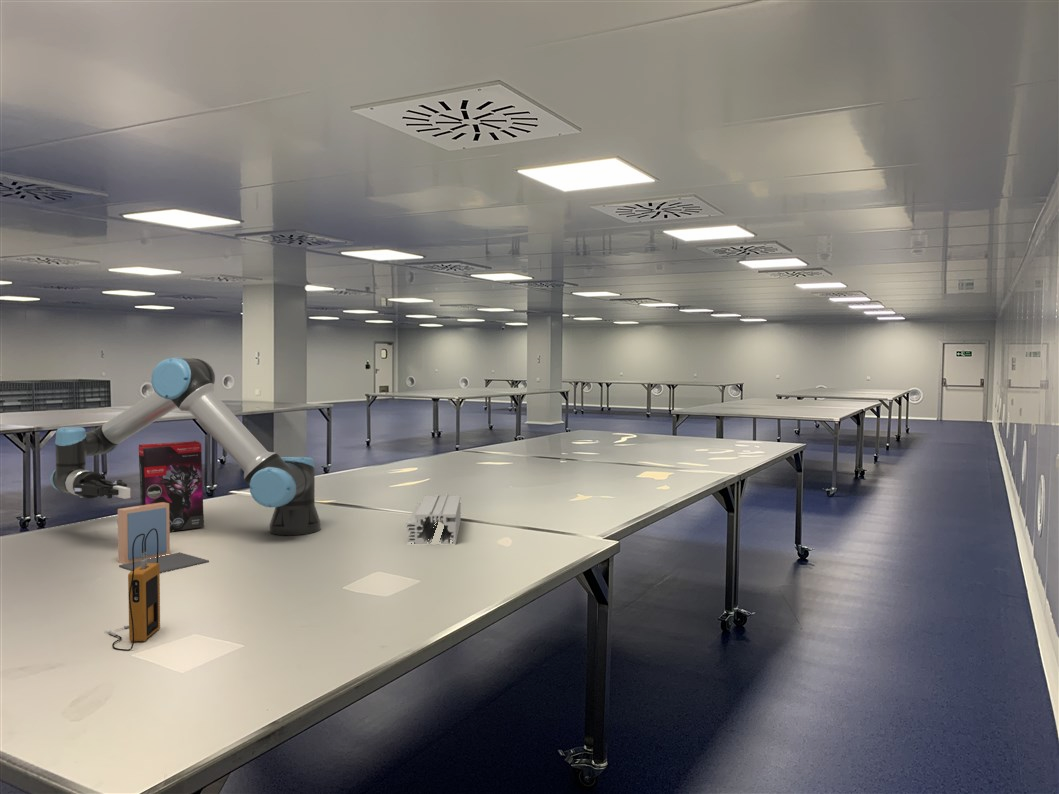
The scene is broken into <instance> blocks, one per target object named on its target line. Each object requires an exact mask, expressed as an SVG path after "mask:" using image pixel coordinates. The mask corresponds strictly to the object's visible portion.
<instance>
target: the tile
mask: <svg viewBox="0 0 1059 794" xmlns="http://www.w3.org/2000/svg"><path fill="white" fill-rule="evenodd" d="M153 528H155V529H156V530H157V532H158V545H159V547H158V557H159V556H162V555H166V554H171V547H170V545H171V544H170V543H171V542H170V539H171V538H170V536H171V535H170V534H171V533H170V531H169V503H165V502H161V503H154V504H148V505H141V504H140V505H136V506H129V507H123V508H117V537H118V538H117V550H118V551H117V552H118V555H117V556H118V557H117V559H118V563H119V564H121V565H123V564H127V563H132V562H133V559H132V547H133V542H134V540H135V538H136V537H137V536H138V535H140V534H145V538H146V536H147V534H148V532H149V531H150V530H151V529H153ZM143 536H144V535H141V536H139V537H138V538H137V539H136V540H135V543H134V562H137V561H141V560H142V540H143ZM145 538H144V541H145ZM143 553H144V542H143ZM155 557H157V535H156V531H155V530H152V531H151V532H150V533H149V535H148V537H147V539H146V558H147V559H150V558H155Z"/></svg>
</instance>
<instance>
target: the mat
mask: <svg viewBox="0 0 1059 794" xmlns="http://www.w3.org/2000/svg"><path fill="white" fill-rule="evenodd" d="M206 562H207V563H210V560H209V559H205V558H202V557H197V556H194V555H191V554H187V553H183V552H176V553H170V555H165V556H160V557H158V563H159V567H160V574H163V573H162V572H164V573H167V572H166V571H168V572H171V570H172V571H175V569H177V570H180V569H179V568H181V569H184V568H183V567H185V568H189V567H193V565H194V566H197V564H198V565H202V564H206ZM147 563H157V557H156V558H151V559H147ZM140 566H141V561H137V562H134V570H135V569H136V568H138V567H140ZM188 566H189V567H188ZM118 567H119V568H122V569H125V570H127V571H130V572H131V571H133V562H132V563H127V564H119V565H118Z"/></svg>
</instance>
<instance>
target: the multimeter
mask: <svg viewBox="0 0 1059 794" xmlns="http://www.w3.org/2000/svg"><path fill="white" fill-rule="evenodd" d="M152 530H155V531H156V535H157V563H147V558H146V539H147V537H148V535H149V533H150V532H151V531H152ZM141 535H144V536H143V540H142V560H141V566H140V567H138V568H136V569H135V570H134V543H135V540H136V539H137V538H138V537H139V536H141ZM144 538H145V534H140V535H138V536H137V537H136V538H135V540H134V542H133V547H132V559H133V571H130V572H128V577H127V579H128V580H127V581H128V582H127V587H128V593H127V595H128V597H127V598H128V625H124V626H123V627H120V628H115V631H119V630H123V629H124V630H126V629H128V635H129V636H128V639H129V642H131V647H130V648H118V647H115V643H118V642H119V641H121V640H122V639H123V637H122V636H120V635H118V634H117V633H116V632H113V631H112V630H107V629H105V630H104V631H105V632H107V634H109V635H112V636H113V637H117V638H119V639H117V640H115V641H113V642H112V648H113V649H115V650H117V651H123V652H124V651H125V652H128V651H131V650H132V649H133V647H134V644H135V642H146V641H147V640H148V639H149V638H150V637H151V636H153V634H154V633H155V632H158V631H159V630H160V628H161V582H160V581H161V580H160V579H161V578H160V574H161V573H160V567H159V563H158V547H159V545H158V532H157V530H156V529H155V528H153V529H151V530H150V531H149V532H148V534H147V536H146V538H145V541H144ZM143 542H144V553H143Z"/></svg>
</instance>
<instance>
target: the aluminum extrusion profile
mask: <svg viewBox="0 0 1059 794" xmlns="http://www.w3.org/2000/svg"><path fill="white" fill-rule="evenodd" d="M461 498H462V496H461V495H449V493H447V492H446V493H445V495H440V493H439V492H438V493H437V494H436V495H424V497H423V499H422V501H421V502H417V504H416V505H415V506H414V509H413V511H412V512H411V514H410V516H409V518H408V520H407V521H406V523H405V524H406V526H405V528H406V529H407V532H409V534H408V537H407V539H406V541H405V542H406V543H407V542H414V544H427V542H428V544H430V543H431V542H432V539H433V536H434V533H435V530H436V528H437V525H438V522H443V524H444V529H443V532H442V535H441V538H440V541H439V542H441V544H450V540H452V541H453V542H452V544H455V545H456V543H457V541H458V536H459V530H460V525H461V513H462V512H461V509H462V507H461V506H462V503H461V500H462V499H461ZM442 518H443V519H442ZM441 520H443V521H441ZM436 522H437V523H436ZM435 523H436V524H435ZM434 524H435V525H436V526H435V525H434ZM433 527H434V528H433ZM428 539H429V540H428ZM411 544H412V543H411Z"/></svg>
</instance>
